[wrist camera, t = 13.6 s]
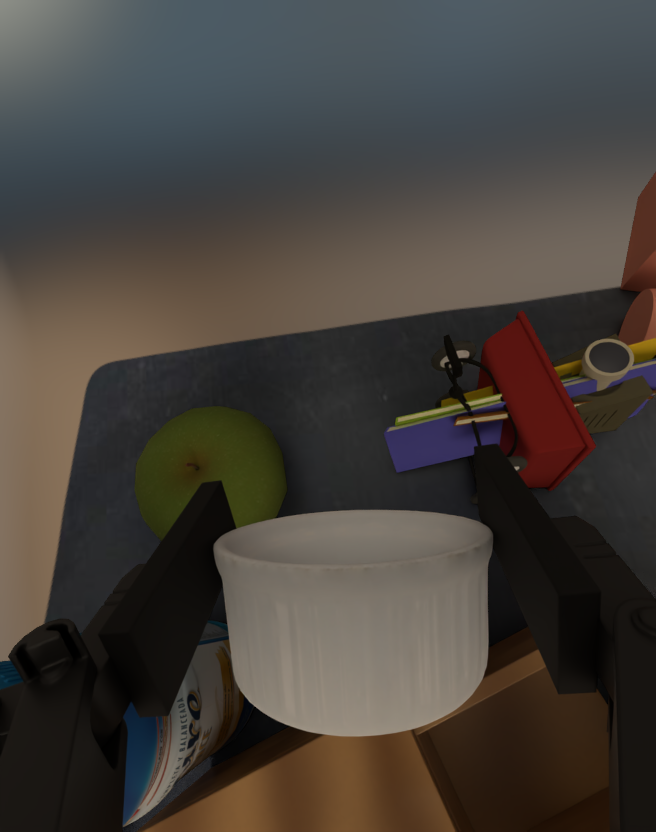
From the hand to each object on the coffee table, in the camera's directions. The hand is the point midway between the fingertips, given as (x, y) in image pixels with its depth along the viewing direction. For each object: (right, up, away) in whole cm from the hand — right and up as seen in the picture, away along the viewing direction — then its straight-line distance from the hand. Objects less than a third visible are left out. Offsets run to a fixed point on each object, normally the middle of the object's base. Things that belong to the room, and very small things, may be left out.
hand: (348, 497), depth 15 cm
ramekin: (0, -5, -1) cm, 5 cm away
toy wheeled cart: (+14, +1, +19) cm, 23 cm away
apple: (-8, -4, +21) cm, 23 cm away
